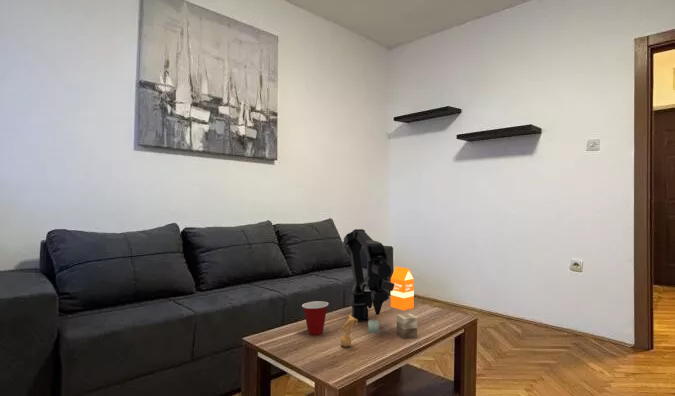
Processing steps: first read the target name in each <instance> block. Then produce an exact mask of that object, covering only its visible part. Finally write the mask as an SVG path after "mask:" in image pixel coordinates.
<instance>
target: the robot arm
mask: <svg viewBox="0 0 675 396" xmlns="http://www.w3.org/2000/svg"><path fill="white" fill-rule="evenodd" d="M343 244H344V247H345V250H346V252H348V254H349V255H350V263H351V264H350V265H351V269H352V278H353V286H352V289H351V295H350V296H349V298H348V299H349V300H348V304H349V306H350V307H351V316H352V317H353V318H355V319H357V320H358V321H357V322H368V321H369V309H372V306H373V308H374V312H375V315H376V316H379V315H380V313H381V309H382V306H383V304H384V302H386V301H388V300H389V299H390V294H389V293H388V291H386V290H389V291H390V292H391V291H393V288H394V285H395V284H394V283H392V282H391V280H390V281H389V277H391V275H392V269H391V266H390V265H389V264H388V262H387V261H388V254H387V252H386V250H385V246H384V244H383V243H381V242H380V241H377V240H374V239H372V238H371V237H370V236H369V235H368V233H367V232H366V230H365V229H364V228H357V229H356V228H355V229H353V230H352V231H351V232H348V233H347V234H346V235H345V236H344V238H343ZM362 248H364V249H363V251H364V255H365V256H366V260H365V261H366V262H367V264H366V265H367V266H366V267H367V268H366V269H367V270H366V273H367V274H365V277H364V270H363V263H362V256H361V250H362ZM365 278H366V281H365Z"/></svg>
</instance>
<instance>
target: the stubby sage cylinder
mask: <svg viewBox="0 0 675 396" xmlns="http://www.w3.org/2000/svg"><path fill="white" fill-rule="evenodd" d="M367 332H368V333H371V334H378V333H380V321H379V320H377V319H368V321H367Z"/></svg>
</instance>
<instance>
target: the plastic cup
mask: <svg viewBox="0 0 675 396" xmlns="http://www.w3.org/2000/svg"><path fill="white" fill-rule="evenodd" d="M328 306H329V302H327V301H319V300H318V301H317V300H316V301H315V300H314V301H308V302H306V303H303V304H302V305H301V307H302V309H303V312H304V315H305V316H304V317H305V322H306V323H305V324H306V327H307V333H309V336H314V335H315V336H316V335H317V336H321V335H322V334H323V333H324V326H325V321H326V316H327V315H326V314H327V310H328Z"/></svg>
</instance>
